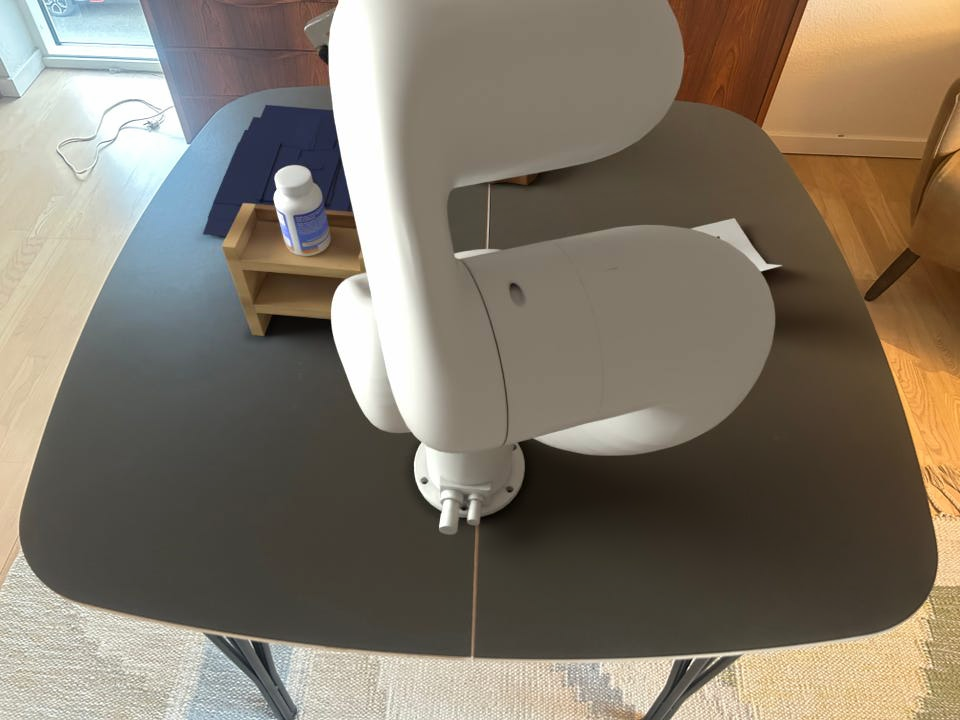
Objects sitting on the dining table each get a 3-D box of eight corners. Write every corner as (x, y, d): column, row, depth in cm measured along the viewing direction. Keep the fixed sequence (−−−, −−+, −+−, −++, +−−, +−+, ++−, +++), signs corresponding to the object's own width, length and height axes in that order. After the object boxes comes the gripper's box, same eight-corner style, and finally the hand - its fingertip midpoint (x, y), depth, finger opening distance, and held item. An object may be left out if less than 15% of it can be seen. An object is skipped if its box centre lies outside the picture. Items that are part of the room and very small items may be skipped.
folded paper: (732, 223, 110) (736, 213, 109) (778, 275, 103) (783, 265, 102) (664, 240, 107) (667, 230, 106) (706, 294, 100) (710, 284, 99)
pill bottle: (338, 232, 87) (326, 165, 79) (320, 261, 83) (306, 194, 76) (296, 224, 88) (280, 157, 80) (278, 253, 84) (259, 185, 77)
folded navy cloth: (396, 127, 123) (394, 109, 120) (364, 259, 107) (361, 243, 104) (259, 117, 124) (253, 99, 121) (206, 246, 108) (198, 230, 105)
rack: (383, 346, 93) (372, 259, 81) (252, 335, 94) (221, 246, 82) (394, 303, 98) (385, 214, 86) (269, 292, 99) (243, 202, 87)
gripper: (272, -71, 52) (310, 133, 66) (505, -57, 52) (496, 147, 65) (298, -107, 57) (329, 90, 70) (512, -94, 56) (503, 103, 70)
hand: (409, 117), depth 68 cm, fingers open, 9 cm apart
